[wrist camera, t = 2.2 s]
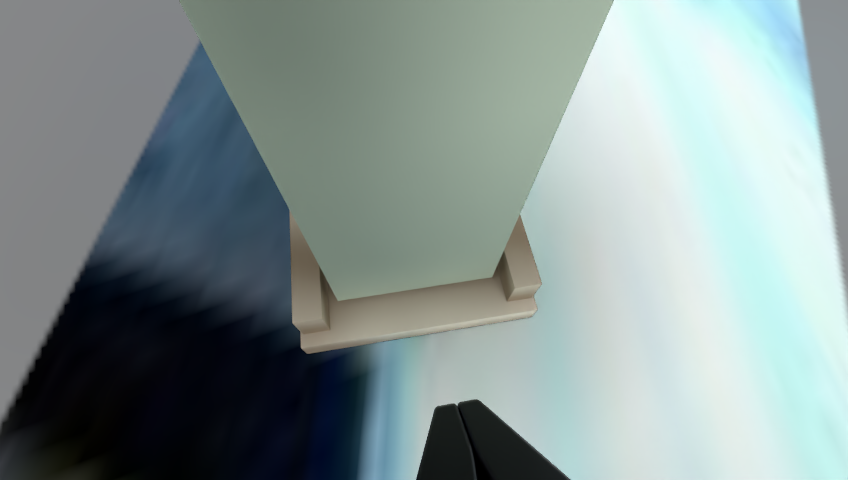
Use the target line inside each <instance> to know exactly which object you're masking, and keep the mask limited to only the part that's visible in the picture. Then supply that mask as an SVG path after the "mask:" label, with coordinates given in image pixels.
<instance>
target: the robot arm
mask: <svg viewBox="0 0 848 480" xmlns="http://www.w3.org/2000/svg"><path fill="white" fill-rule="evenodd" d="M416 480H570V479H569V478H568V477H567V476H566V475H565V474H564V473H562V472H561V471H560V470H559V469H558V468H557V467H556V466H554V465H553V464H552V463H551V462H550V461H549V460H547V459H546V458H545V457H544V456H543V455H542V454H541V453H539V452H538V451H537V450H536V449H535V448H534V447H533V446H531V445H530V444H529V443H528V442H527V441H526V440H524V439H523V438H522V437H521V436H520V435H519V434H518V433H516V432H515V431H514V430H513V429H512V428H511V427H510V426H508V425H507V424H506V423H505V422H504V421H503V420H501V419H500V418H499V417H498V416H497V415H496V414H495V413H493V412H492V411H491V410H490V409H489V408H488V407H487V406H485V405H484V404H483V403H482V402H481V401H479V400H477V399H475V400H469V401H464V402H459V403H458V406H457V405H456V404H447V405H441V406H437V407H436V408H435V410H434V413H433V417H432V421H431V425H430V429H429V433H428V436H427V440H426V444H425V448H424V452H423V456H422V459H421V463H420V467H419V471H418V475H417V479H416Z"/></svg>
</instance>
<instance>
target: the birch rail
mask: <svg viewBox="0 0 848 480" xmlns="http://www.w3.org/2000/svg"><path fill="white" fill-rule="evenodd" d="M290 248H291V288H292V323H293V324H294V325H295V326H296V328H297V329H298V330H299V331H300V334H301V349H302V350H304V351H305V352H306V353H307V354H310V353H316V352H322V351H328V350H334V349H341V348H347V347H353V346H359V345H365V344H371V343H377V342H383V341H389V340H395V339H401V338H407V337H413V336H419V335H426V334H432V333H438V332H444V331H450V330H456V329H462V328H468V327H474V326H480V325H486V324H492V323H498V322H504V321H511V320H517V319H523V318H529V317H532V316H533V315H534V313H535V312H536V311H537V310H538V309H537V305H536V302H535V299H534V294H535V293H536V291H537V290H538V289H539V287H540V286H541V285H542V282H541V279H540V276H539V273H538V270H537V266H536V263H535V260H534V257H533V254H532V251H531V248H530V244H529V241H528V238H527V235H526V232H525V229H524V226H523V222H522V219H521V216H520V215H519V217H518V219H517V222H516V224H515V226H514V228H513V231H512V233H511V235H510V238H509V240H508V242H507V244H506V247H505V249H504V251H503V254H502V256H501V258H500V260H499V263H498V265H497V267H496V269H495V272H494V274H493V276H492V277H491V278H484V279H478V280H471V281H465V282H458V283H452V284H445V285H439V286H432V287H426V288H419V289H413V290H406V291H400V292H393V293H387V294H380V295H374V296H367V297H361V298H354V299H348V300H341V301H338V300H337V298H336V296H335V295H334V293H333V291H332V289H331V287H330V285H329V283H328V281H327V279H326V278H325V276H324V274H323V272H322V270H321V268H320V266H319V264H318V262H317V261H316V259H315V257H314V255H313V253H312V251H311V249H310V247H309V245H308V244H307V242H306V240H305V238H304V236H303V234H302V232H301V230H300V228H299V227H298V225H297V223H296V221H295V219H294V217H293V215H292V213H291V211H290Z"/></svg>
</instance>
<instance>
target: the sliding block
mask: <svg viewBox="0 0 848 480" xmlns="http://www.w3.org/2000/svg"><path fill="white" fill-rule="evenodd" d="M613 1H614V0H179V2H180V3H181V5H182V7H183V9H184V11H185V13H186V15H187V17H188V19H189V21H190V22H191V24H192V26H193V28H194V30H195V32H196V34H197V36H198V38H199V39H200V41H201V43H202V45H203V47H204V49H205V51H206V53H207V55H208V56H209V58H210V60H211V62H212V64H213V66H214V68H215V70H216V72H217V73H218V75H219V77H220V79H221V81H222V83H223V85H224V87H225V89H226V90H227V92H228V94H229V96H230V98H231V100H232V102H233V104H234V106H235V107H236V109H237V111H238V113H239V115H240V117H241V119H242V121H243V123H244V124H245V126H246V128H247V130H248V132H249V134H250V136H251V138H252V140H253V141H254V143H255V145H256V147H257V149H258V151H259V153H260V155H261V157H262V158H263V160H264V162H265V164H266V166H267V168H268V170H269V172H270V174H271V175H272V177H273V179H274V181H275V183H276V185H277V187H278V189H279V191H280V192H281V194H282V196H283V198H284V200H285V202H286V204H287V206H288V208H289V209H290V211H291V213H292V215H293V217H294V219H295V221H296V223H297V225H298V227H299V228H300V230H301V232H302V234H303V236H304V238H305V240H306V242H307V244H308V245H309V247H310V249H311V251H312V253H313V255H314V257H315V259H316V261H317V262H318V264H319V266H320V268H321V270H322V272H323V274H324V276H325V278H326V279H327V281H328V283H329V285H330V287H331V289H332V291H333V293H334V295H335V296H336V298H337V300H338V301H341V300H348V299H354V298H361V297H367V296H374V295H380V294H387V293H393V292H400V291H406V290H413V289H419V288H426V287H432V286H439V285H445V284H452V283H458V282H465V281H471V280H478V279H484V278H491V277H492V276H493V274H494V272H495V269H496V267H497V265H498V263H499V260H500V258H501V256H502V254H503V251H504V249H505V247H506V244H507V242H508V240H509V238H510V235H511V233H512V231H513V228H514V226H515V224H516V222H517V219H518V217H519V215H520V213H521V210H522V208H523V206H524V203H525V201H526V199H527V197H528V194H529V192H530V190H531V188H532V185H533V183H534V181H535V178H536V176H537V174H538V172H539V169H540V167H541V165H542V163H543V160H544V158H545V156H546V153H547V151H548V149H549V147H550V144H551V142H552V140H553V138H554V135H555V133H556V131H557V128H558V126H559V124H560V122H561V119H562V117H563V115H564V113H565V110H566V108H567V106H568V103H569V101H570V99H571V97H572V94H573V92H574V90H575V87H576V85H577V83H578V81H579V78H580V76H581V74H582V72H583V69H584V67H585V65H586V62H587V60H588V58H589V56H590V53H591V51H592V49H593V47H594V44H595V42H596V40H597V37H598V35H599V33H600V31H601V28H602V26H603V24H604V22H605V19H606V17H607V15H608V12H609V10H610V8H611V6H612V3H613Z"/></svg>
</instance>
